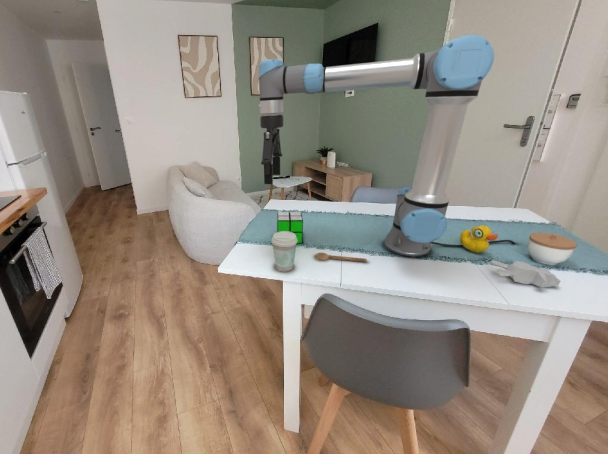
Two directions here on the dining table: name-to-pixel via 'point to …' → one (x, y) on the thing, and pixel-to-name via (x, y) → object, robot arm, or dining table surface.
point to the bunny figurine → (527, 274)
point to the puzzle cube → (291, 223)
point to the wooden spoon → (337, 257)
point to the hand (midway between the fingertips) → (272, 179)
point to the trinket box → (550, 248)
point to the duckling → (477, 238)
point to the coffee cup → (284, 250)
